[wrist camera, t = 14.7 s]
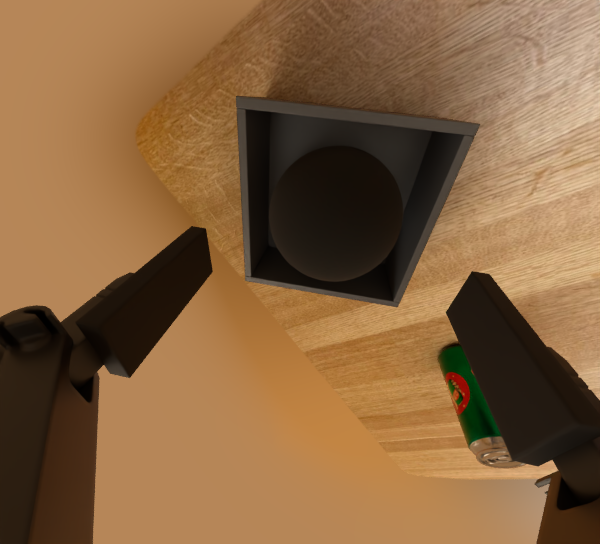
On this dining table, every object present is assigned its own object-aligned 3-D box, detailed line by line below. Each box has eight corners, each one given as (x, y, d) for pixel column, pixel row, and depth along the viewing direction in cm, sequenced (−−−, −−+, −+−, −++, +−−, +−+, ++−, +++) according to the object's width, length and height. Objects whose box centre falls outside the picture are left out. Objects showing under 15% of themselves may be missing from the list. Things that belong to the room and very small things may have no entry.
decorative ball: (365, 255, 26) (373, 324, 18) (275, 228, 26) (243, 285, 18) (413, 158, 20) (457, 195, 12) (298, 121, 20) (265, 135, 12)
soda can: (486, 357, 32) (545, 466, 23) (449, 370, 35) (488, 472, 25) (466, 337, 31) (520, 444, 21) (429, 351, 34) (462, 453, 24)
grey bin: (265, 97, 20) (235, 95, 15) (443, 117, 19) (480, 123, 14) (264, 247, 28) (245, 281, 23) (388, 267, 27) (397, 307, 22)
